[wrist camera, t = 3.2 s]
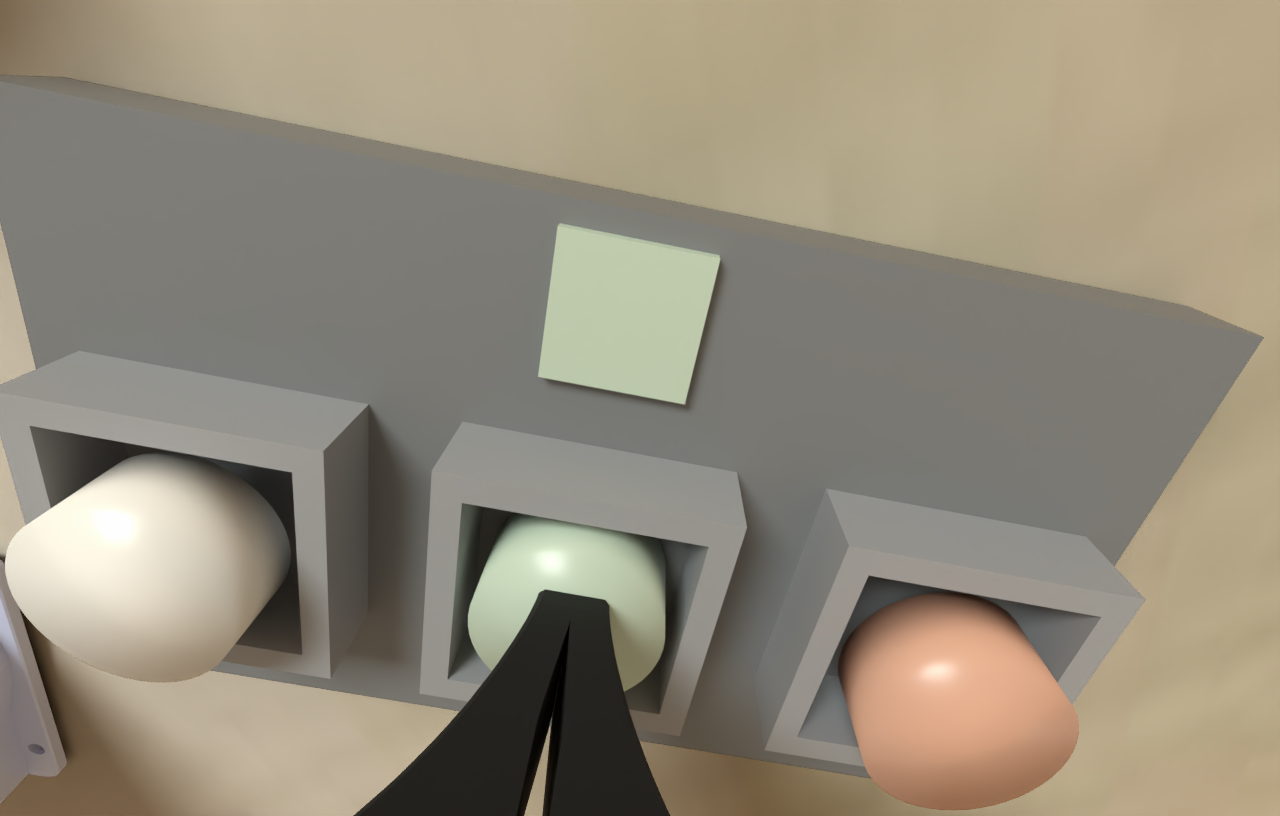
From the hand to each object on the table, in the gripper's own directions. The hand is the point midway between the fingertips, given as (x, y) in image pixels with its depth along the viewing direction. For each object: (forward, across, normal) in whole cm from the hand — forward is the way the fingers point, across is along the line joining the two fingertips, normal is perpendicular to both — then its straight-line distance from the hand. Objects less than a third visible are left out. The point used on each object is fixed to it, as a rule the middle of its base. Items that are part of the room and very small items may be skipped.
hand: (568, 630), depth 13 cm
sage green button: (+2, 0, 0) cm, 2 cm away
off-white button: (+1, +8, 0) cm, 8 cm away
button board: (+4, 0, -1) cm, 5 cm away
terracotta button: (+1, -8, 0) cm, 8 cm away
